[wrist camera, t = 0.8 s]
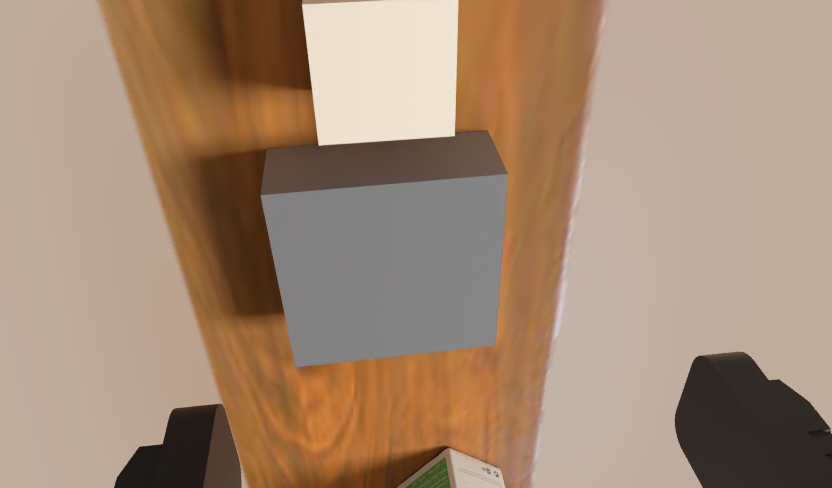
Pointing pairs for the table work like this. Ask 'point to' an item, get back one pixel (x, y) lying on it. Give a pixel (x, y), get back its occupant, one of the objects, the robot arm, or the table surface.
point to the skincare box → (455, 473)
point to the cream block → (382, 68)
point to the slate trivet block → (387, 245)
